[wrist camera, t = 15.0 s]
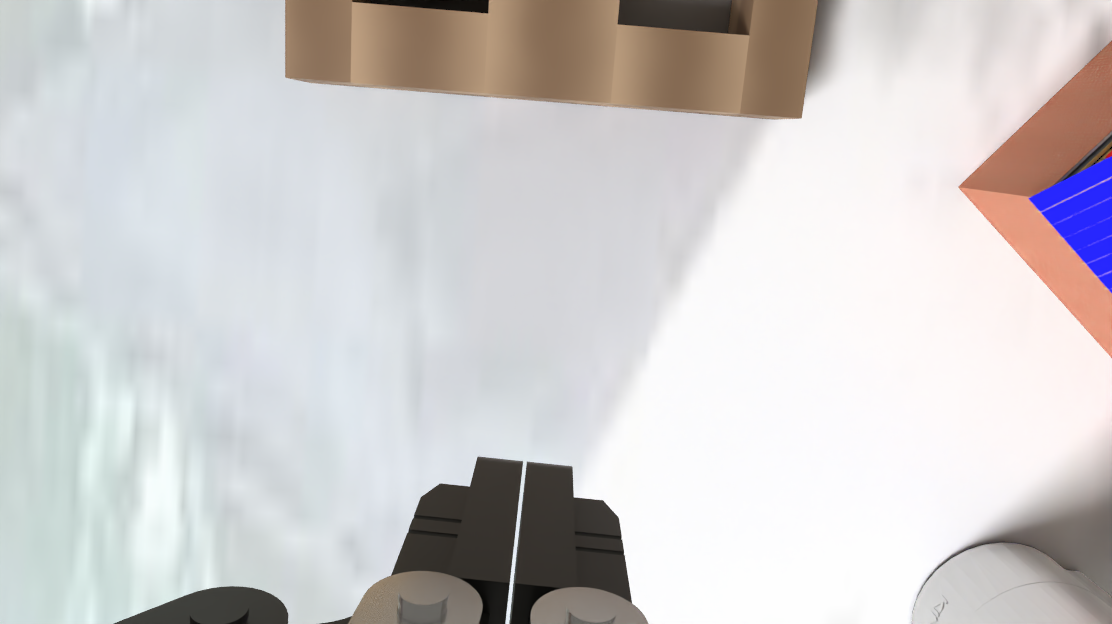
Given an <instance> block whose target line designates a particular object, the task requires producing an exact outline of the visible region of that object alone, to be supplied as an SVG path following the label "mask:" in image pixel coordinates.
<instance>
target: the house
mask: <svg viewBox="0 0 1112 624" xmlns="http://www.w3.org/2000/svg"><path fill="white" fill-rule="evenodd" d="M1111 147H1112V41H1111V42H1110V43H1109V44H1108V45H1107V46H1106V47H1105V48H1104V49H1103V50H1102V51H1101V52H1099V53H1098V54H1097V55H1096V56H1095V57H1094V58H1093V59H1092V60H1091V61H1090V62H1089V63H1088V64H1087V65H1086V66H1085V67H1084V68H1083V69H1082V70H1081V71H1080V72H1078V73H1077V74H1076V75H1075V76H1074V77H1073V78H1072V79H1071V80H1070V81H1069V82H1068V83H1067V84H1066V85H1065V86H1064V87H1063V88H1062V89H1061V90H1060V91H1059V92H1057V93H1056V94H1055V95H1054V96H1053V97H1052V98H1051V99H1050V100H1049V101H1048V102H1047V103H1046V104H1045V105H1044V106H1043V107H1042V108H1041V109H1040V110H1039V111H1038V112H1037V113H1035V114H1034V115H1033V116H1032V117H1031V118H1030V119H1029V120H1028V121H1027V122H1026V123H1025V124H1024V125H1023V126H1022V127H1021V128H1020V129H1019V130H1018V131H1017V132H1016V133H1014V134H1013V135H1012V136H1011V137H1010V138H1009V139H1008V140H1007V141H1006V142H1005V143H1004V144H1003V145H1002V146H1001V147H1000V148H999V149H998V150H997V151H996V152H995V153H993V154H992V155H991V156H990V157H989V158H988V159H987V160H986V161H985V162H984V163H983V164H982V165H981V166H980V167H979V168H978V169H977V170H976V171H975V172H974V173H973V174H971V175H970V176H969V177H968V178H967V179H966V180H965V181H964V182H963V183H962V184H961V185H960V186H959V188H960V190H961V191H962V192H963V193H964V194H965V195H966V196H967V197H968V198H969V200H970V201H971V202H972V203H973V204H974V205H975V206H976V207H977V208H978V210H979V211H980V212H981V213H982V214H983V215H984V216H985V217H986V219H987V220H988V221H989V222H990V223H991V224H992V225H993V226H994V227H995V229H996V230H997V231H998V232H999V233H1000V234H1001V235H1002V236H1003V237H1004V239H1005V240H1006V241H1007V242H1008V243H1009V244H1010V245H1011V246H1012V247H1013V249H1014V250H1015V251H1016V252H1017V253H1018V254H1019V255H1020V256H1021V257H1022V259H1023V260H1024V261H1025V262H1026V263H1027V264H1028V265H1029V266H1030V267H1031V269H1032V270H1033V271H1034V272H1035V273H1036V274H1037V275H1038V276H1039V277H1040V279H1041V280H1042V281H1043V282H1044V283H1045V284H1046V285H1047V286H1048V287H1049V289H1050V290H1051V291H1052V292H1053V293H1054V294H1055V295H1056V296H1057V297H1058V299H1059V300H1060V301H1061V302H1062V303H1063V304H1064V305H1065V306H1066V307H1067V309H1068V310H1069V311H1070V312H1071V313H1072V314H1073V315H1074V316H1075V318H1076V319H1077V320H1078V321H1079V322H1080V323H1081V324H1082V325H1083V326H1084V328H1085V329H1086V330H1087V331H1088V332H1089V333H1090V334H1091V335H1092V336H1093V338H1094V339H1095V340H1096V341H1097V342H1098V343H1099V344H1100V345H1101V346H1102V348H1103V349H1104V350H1105V351H1106V352H1107V353H1108V354H1109V355H1110V356H1111V358H1112V149H1111V150H1110V151H1108V152H1107V153H1106V154H1105V155H1104V156H1103V157H1102V158H1101V159H1100V160H1099V161H1098V162H1097V163H1096V164H1094V165H1093V166H1091V165H1092V164H1093V163H1094V162H1095V161H1097V160H1098V159H1099V158H1100V157H1101V156H1102V155H1103V154H1104V153H1105V152H1106V151H1107V150H1108V149H1109V148H1111ZM1090 166H1091V167H1090Z"/></svg>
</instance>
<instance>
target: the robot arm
mask: <svg viewBox="0 0 1112 624" xmlns="http://www.w3.org/2000/svg"><path fill="white" fill-rule="evenodd" d="M522 466H523V461H514V460H505V459H495V458H486V457H478V458H477V461H476V465H475V469H474V473H473V477H472V481H471V485H470V487H468V486H458V485H449V484H439V485H438V486H436V487H435V488H433V489H432V490H431V491H429V492H428V493H426V494H425V495H423V496H422V497H421V499H420V501H419V504H418V506H417V509H416V512H415V514H414V518H413V520H412V522H411V525H410V528H409V532H408V533H407V535H406V538H405V541H404V543H403V546H402V549H401V551H400V554H399V556H398V559H397V562H396V564H395V567H394V570H393V572H392V575H391V576H389V577H387V578H384V579H382V580H380V581H379V582H377V583H375V584H374V585H373V586H372V587H370V588H369V589H368V590H367V592H366V593H365V595H364V596H363V598H362V600H361V602H360V603H359V605H358V607H357V609H356V610H355V612H354V614H353V616H351V617H348V618H345V619H342V620H338V621H334V622H328V623H321V624H505V620H506V611H507V602H508V593H509V584H510V575H511V566H512V557H513V547H514V538H515V529H516V520H517V511H518V502H519V493H520V484H521V475H522ZM114 624H288V612H287V609H286V607H285V606H284V604H283V603H282V602H281V601H280V600H279V599H278V598H277V597H275V596H273V595H272V594H270V593H267V592H265V591H262V590H258V589H254V588H248V587H233V586H231V587H218V588H211V589H206V590H202V591H198V592H195V593H192V594H189V595H186V596H183V597H181V598H178V599H176V600H173V601H170V602H168V603H165V604H163V605H160V606H158V607H155V608H152V609H150V610H147V611H145V612H142V613H140V614H137V615H135V616H132V617H129V618H127V619H124V620H122V621H119V622H117V623H114ZM509 624H648V622H647V620H646V618H645V616H644V615H643V614H642V612H641V611H640V610H639V609H638V608H637V607H636V606H635V605H633V604H632V601H631V594H630V588H629V581H628V575H627V568H626V562H625V555H624V549H623V543H622V540H621V530H620V523H619V518H618V517H617V515H616V514H615V513H614V512H613V511H612V510H611V509H610V508H609V507H608V506H607V505H606V503H605V502H604V501H602V500H593V499H583V498H574V497H573V471H572V466H563V465H553V464H544V463H534V462H527V467H526V475H525V484H524V493H523V502H522V511H521V520H520V529H519V538H518V547H517V556H516V566H515V575H514V584H513V594H512V604H511V613H510V623H509ZM911 624H1112V596H1110V595H1109V594H1108V593H1107V592H1105V591H1104V590H1103V589H1102V588H1100V587H1099V586H1098V585H1097V584H1095V583H1094V582H1093V581H1092V580H1090V579H1089V578H1088V577H1087V576H1085V575H1084V574H1083V573H1082V572H1080V571H1070V570H1065V569H1064V568H1062V567H1061V566H1060V565H1059V564H1058V563H1056V562H1055V561H1054V560H1053V559H1052V558H1050V557H1049V556H1048V555H1046V554H1044V553H1042V552H1041V551H1039V550H1037V549H1035V548H1032V547H1029V546H1025V545H1022V544H1018V543H1002V542H1000V543H993V544H985V545H981V546H978V547H975V548H972V549H969V550H966V551H964V552H962V553H960V554H959V555H957V556H955V557H953V558H951V559H950V560H949V561H947V562H946V563H945V564H944V565H942V566H941V567H940V568H939V569H937V570H936V571H935V573H934V574H933V575H932V576H931V577H930V578H929V580H928V581H927V582H926V583H925V585H924V586H923V588H922V590H921V592H920V594H919V595H918V597H917V600H916V603H915V606H914V609H913V612H912V623H911Z"/></svg>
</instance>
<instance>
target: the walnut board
mask: <svg viewBox="0 0 1112 624" xmlns="http://www.w3.org/2000/svg"><path fill="white" fill-rule="evenodd" d="M619 3H620V0H489V9H488V13H476V12H464V11H452V10H440V9H428V8H416V7H405V6H393V5H381V4H371V0H285V78H290V79H295V80H300V81H304V82H309V83H319V84H332V85H344V86H357V87H370V88H382V89H395V90H408V91H420V92H433V93H446V94H458V95H471V96H484V97H496V98H509V99H522V100H534V101H547V102H560V103H572V104H585V105H598V106H610V107H623V108H636V109H648V110H661V111H674V112H686V113H699V114H712V115H724V116H737V117H750V118H762V119H799V118H802V111H803V104H804V97H805V90H806V82H807V75H808V68H809V61H810V54H811V47H812V40H813V32H814V25H815V18H816V11H817V4H818V0H732V3H731V11H730V20H729V28H728V34H725V33H714V32H702V31H690V30H678V29H666V28H654V27H642V26H630V25H619V24H618V14H619Z"/></svg>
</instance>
